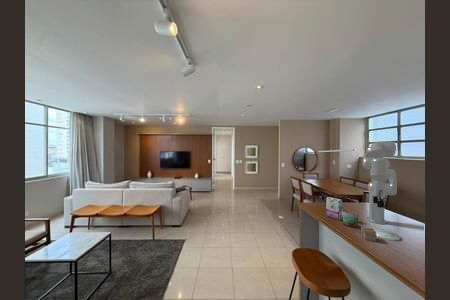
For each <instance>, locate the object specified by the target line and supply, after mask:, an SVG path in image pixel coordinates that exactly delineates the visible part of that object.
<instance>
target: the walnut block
mask: <svg viewBox="0 0 450 300" xmlns="http://www.w3.org/2000/svg"><path fill="white" fill-rule="evenodd" d="M360 229H361V230H360V236H361V238H362V239H363V240H364V241H372V242H377V236H376V231H374V230H375V229H373V227H364V226H361V227H360Z"/></svg>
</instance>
